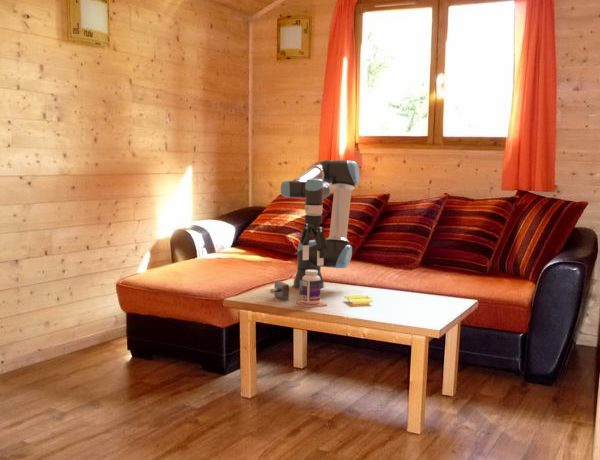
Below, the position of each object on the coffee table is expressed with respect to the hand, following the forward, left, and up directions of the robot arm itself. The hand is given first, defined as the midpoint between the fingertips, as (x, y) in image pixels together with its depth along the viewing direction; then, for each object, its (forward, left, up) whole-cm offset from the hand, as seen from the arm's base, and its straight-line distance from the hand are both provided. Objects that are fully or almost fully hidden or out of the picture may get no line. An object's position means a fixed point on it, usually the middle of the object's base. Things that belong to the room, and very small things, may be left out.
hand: (312, 262), depth 280 cm
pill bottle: (0, 0, -18) cm, 18 cm away
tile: (0, 0, -19) cm, 19 cm away
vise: (+1, -15, -19) cm, 24 cm away
